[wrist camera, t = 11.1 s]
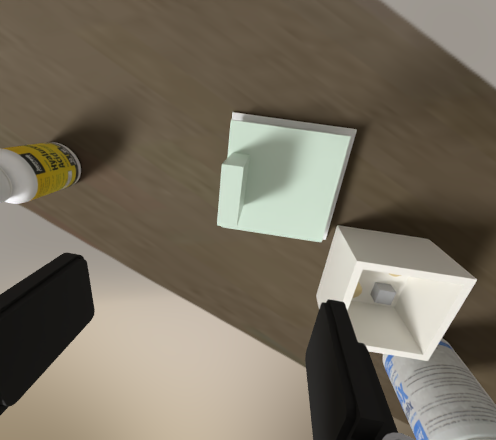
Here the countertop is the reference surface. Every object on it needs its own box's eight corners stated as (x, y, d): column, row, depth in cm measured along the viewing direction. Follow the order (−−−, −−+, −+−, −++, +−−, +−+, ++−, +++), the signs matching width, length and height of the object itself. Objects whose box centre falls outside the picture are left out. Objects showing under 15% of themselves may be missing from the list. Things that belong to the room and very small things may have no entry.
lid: (345, 134, 26) (373, 144, 19) (318, 234, 31) (332, 272, 24) (233, 119, 27) (218, 122, 20) (224, 220, 32) (209, 253, 24)
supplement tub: (367, 349, 38) (417, 477, 25) (426, 318, 35) (520, 446, 22) (404, 382, 41) (469, 517, 27) (463, 356, 37) (569, 495, 24)
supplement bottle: (89, 160, 31) (13, 181, 22) (73, 193, 33) (-3, 225, 24) (48, 131, 30) (-50, 140, 21) (34, 167, 32) (-61, 190, 23)
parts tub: (428, 239, 31) (477, 279, 23) (395, 308, 35) (427, 361, 28) (337, 225, 31) (357, 260, 24) (316, 295, 35) (327, 344, 28)
